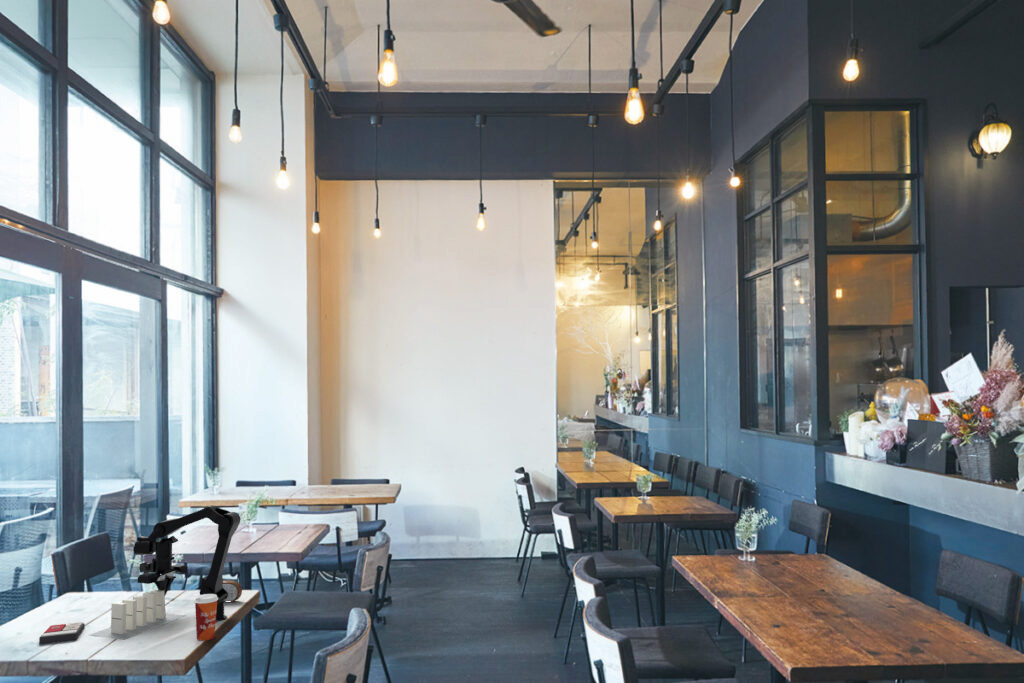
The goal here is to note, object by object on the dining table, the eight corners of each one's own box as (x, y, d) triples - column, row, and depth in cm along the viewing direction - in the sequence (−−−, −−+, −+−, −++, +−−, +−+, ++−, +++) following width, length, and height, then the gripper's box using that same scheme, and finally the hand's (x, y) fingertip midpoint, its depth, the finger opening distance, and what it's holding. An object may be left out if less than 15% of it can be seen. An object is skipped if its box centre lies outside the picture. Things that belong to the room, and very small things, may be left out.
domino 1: (114, 631, 254) (115, 602, 255) (125, 632, 252) (126, 603, 253) (110, 632, 253) (111, 603, 253) (121, 634, 251) (122, 604, 252)
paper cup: (202, 643, 243) (203, 600, 244) (188, 639, 247) (189, 597, 248) (222, 636, 250) (223, 595, 251) (209, 632, 254) (209, 592, 255)
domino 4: (145, 619, 267) (146, 592, 268) (156, 621, 265) (156, 593, 266) (142, 621, 265) (142, 593, 266) (152, 622, 264) (153, 594, 264)
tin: (242, 601, 294) (242, 579, 295) (238, 603, 291) (238, 581, 292) (207, 600, 296) (207, 579, 296) (203, 602, 293) (203, 581, 293)
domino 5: (155, 616, 271) (153, 589, 271) (165, 617, 269) (164, 590, 269) (151, 617, 269) (150, 591, 269) (162, 618, 268) (160, 592, 268)
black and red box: (85, 620, 259) (76, 630, 246) (84, 633, 259) (76, 644, 245) (49, 624, 255) (39, 635, 242) (48, 637, 255) (38, 648, 241)
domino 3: (135, 623, 263) (136, 595, 263) (146, 624, 261) (147, 596, 262) (132, 625, 261) (132, 596, 262) (142, 626, 259) (143, 597, 260)
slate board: (152, 614, 277) (153, 612, 277) (186, 618, 271) (186, 615, 272) (88, 638, 250) (88, 635, 250) (123, 642, 245) (123, 639, 245)
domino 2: (125, 627, 258) (126, 598, 259) (136, 628, 257) (136, 599, 257) (121, 628, 257) (122, 600, 258) (132, 630, 255) (133, 601, 256)
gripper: (166, 548, 284) (165, 589, 283) (126, 558, 267) (125, 602, 266) (188, 550, 280) (188, 591, 279) (149, 560, 263) (148, 604, 262)
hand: (162, 597), depth 272 cm, fingers closed
